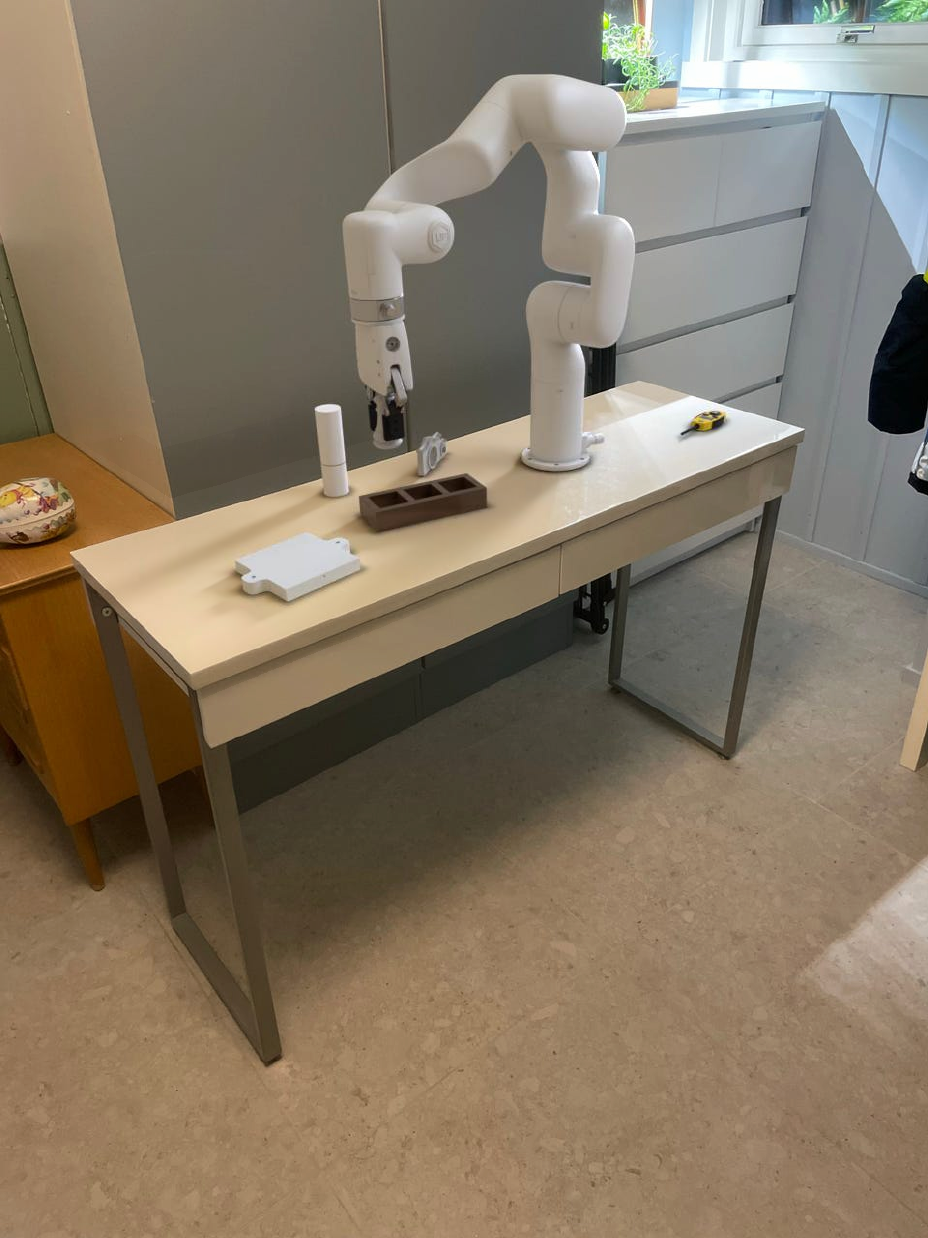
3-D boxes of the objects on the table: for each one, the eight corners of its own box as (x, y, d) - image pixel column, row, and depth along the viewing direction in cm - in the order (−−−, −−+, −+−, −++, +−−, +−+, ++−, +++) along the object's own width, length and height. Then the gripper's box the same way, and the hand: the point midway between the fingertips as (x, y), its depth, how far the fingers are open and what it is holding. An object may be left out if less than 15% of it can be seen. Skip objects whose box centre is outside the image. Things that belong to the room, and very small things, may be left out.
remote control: (731, 411, 187) (692, 431, 178) (730, 421, 188) (691, 440, 179) (710, 407, 190) (670, 425, 181) (709, 416, 191) (669, 435, 182)
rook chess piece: (389, 436, 142) (385, 385, 137) (409, 443, 139) (405, 391, 135) (367, 445, 139) (362, 393, 135) (386, 452, 136) (382, 399, 132)
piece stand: (360, 515, 153) (358, 495, 151) (467, 491, 160) (466, 472, 158) (377, 532, 147) (375, 512, 145) (487, 507, 155) (487, 487, 153)
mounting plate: (272, 608, 127) (270, 596, 126) (221, 577, 135) (219, 565, 134) (373, 563, 138) (372, 552, 137) (321, 537, 146) (319, 526, 145)
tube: (344, 497, 159) (335, 412, 152) (320, 496, 160) (311, 411, 152) (351, 487, 163) (344, 404, 155) (328, 486, 164) (319, 403, 156)
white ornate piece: (439, 453, 176) (438, 423, 173) (448, 454, 176) (447, 424, 173) (416, 476, 167) (414, 445, 164) (425, 477, 166) (424, 446, 163)
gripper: (427, 316, 123) (434, 446, 133) (378, 293, 136) (388, 413, 146) (375, 325, 121) (386, 457, 130) (330, 300, 134) (343, 422, 143)
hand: (387, 432), depth 138 cm, fingers closed on rook chess piece, 4 cm apart
